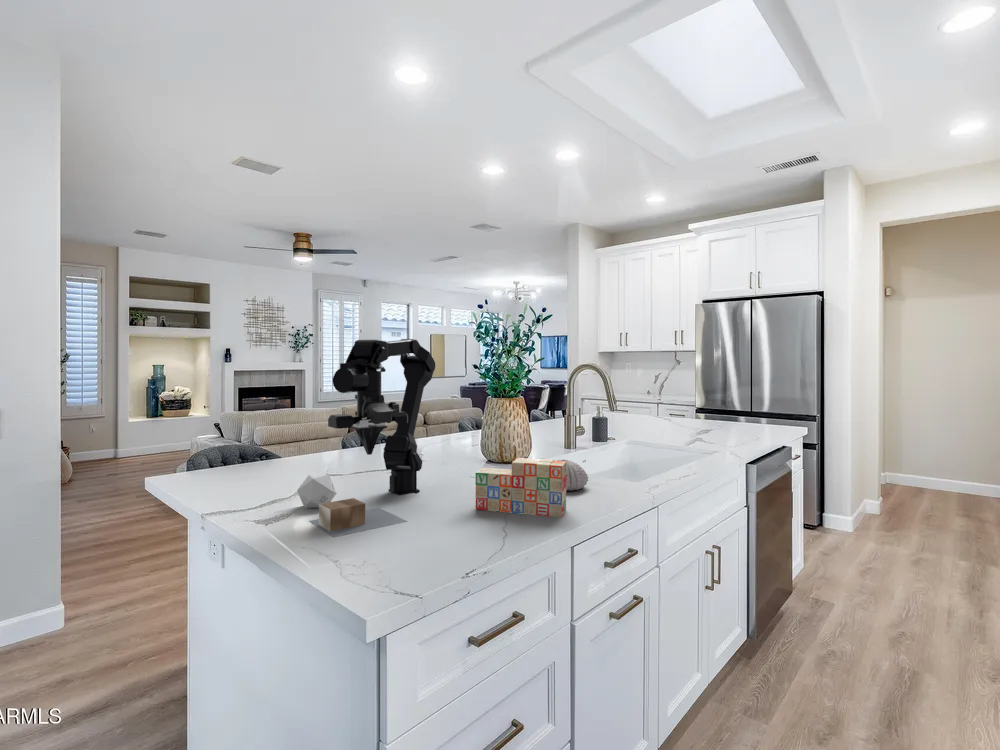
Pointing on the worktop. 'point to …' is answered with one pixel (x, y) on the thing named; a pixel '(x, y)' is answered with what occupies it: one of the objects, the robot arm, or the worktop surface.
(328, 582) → the worktop surface
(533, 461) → the stack of blocks
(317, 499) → the die
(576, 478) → the sea urchin shell
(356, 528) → the rubber mat
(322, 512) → the wooden block
